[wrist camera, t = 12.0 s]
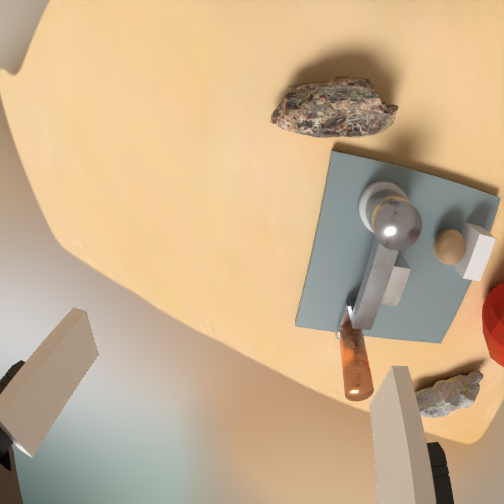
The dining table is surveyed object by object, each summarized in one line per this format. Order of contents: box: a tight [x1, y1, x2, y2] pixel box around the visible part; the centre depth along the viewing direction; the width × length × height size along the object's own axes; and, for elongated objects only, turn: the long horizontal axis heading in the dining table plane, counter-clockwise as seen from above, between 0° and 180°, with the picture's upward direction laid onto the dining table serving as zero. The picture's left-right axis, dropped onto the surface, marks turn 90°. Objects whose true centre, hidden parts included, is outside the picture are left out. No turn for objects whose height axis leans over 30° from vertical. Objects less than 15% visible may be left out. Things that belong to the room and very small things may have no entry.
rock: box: [271, 77, 398, 138], centre depth 29 cm, size 7×11×10 cm
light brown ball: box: [433, 229, 466, 265], centre depth 33 cm, size 4×4×4 cm
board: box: [295, 150, 500, 343], centre depth 36 cm, size 24×24×5 cm
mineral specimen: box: [415, 370, 483, 417], centre depth 44 cm, size 16×7×7 cm, turn 106°
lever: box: [335, 189, 422, 401], centre depth 32 cm, size 21×6×12 cm, turn 174°
